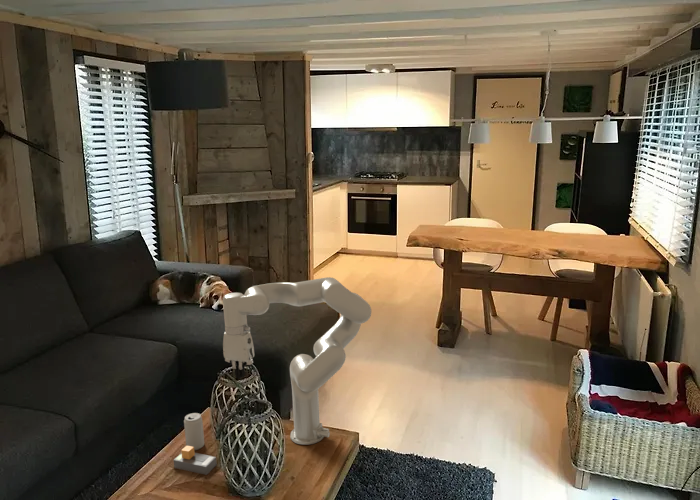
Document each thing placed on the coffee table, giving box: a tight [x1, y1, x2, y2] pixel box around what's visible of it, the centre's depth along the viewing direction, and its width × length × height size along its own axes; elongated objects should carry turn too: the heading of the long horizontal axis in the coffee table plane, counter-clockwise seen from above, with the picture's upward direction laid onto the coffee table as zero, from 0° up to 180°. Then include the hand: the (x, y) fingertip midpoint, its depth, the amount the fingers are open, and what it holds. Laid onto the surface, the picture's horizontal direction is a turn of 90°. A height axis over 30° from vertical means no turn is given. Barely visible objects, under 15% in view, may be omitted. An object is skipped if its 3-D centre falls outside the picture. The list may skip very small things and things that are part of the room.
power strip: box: [173, 452, 218, 476], centre depth 194 cm, size 13×6×3 cm, turn 69°
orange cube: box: [180, 445, 196, 459], centre depth 194 cm, size 3×3×3 cm
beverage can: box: [183, 412, 205, 451], centre depth 206 cm, size 6×6×12 cm
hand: (240, 378), depth 199 cm, fingers closed
